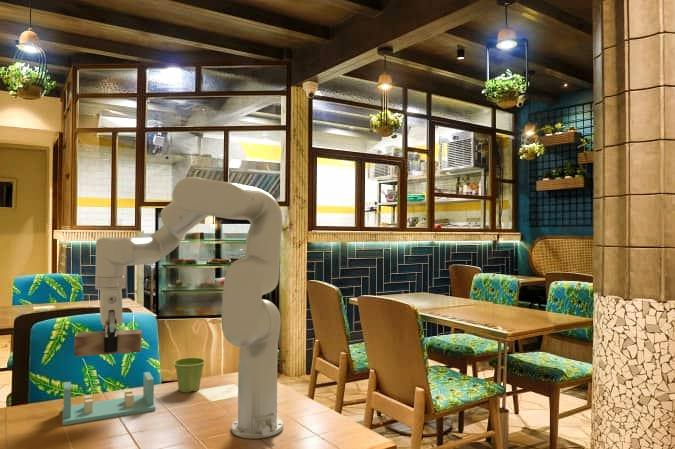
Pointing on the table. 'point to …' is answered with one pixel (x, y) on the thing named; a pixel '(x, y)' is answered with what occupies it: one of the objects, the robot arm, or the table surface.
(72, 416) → the peg stand
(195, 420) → the table surface
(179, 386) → the plant pot
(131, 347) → the brown wooden block
